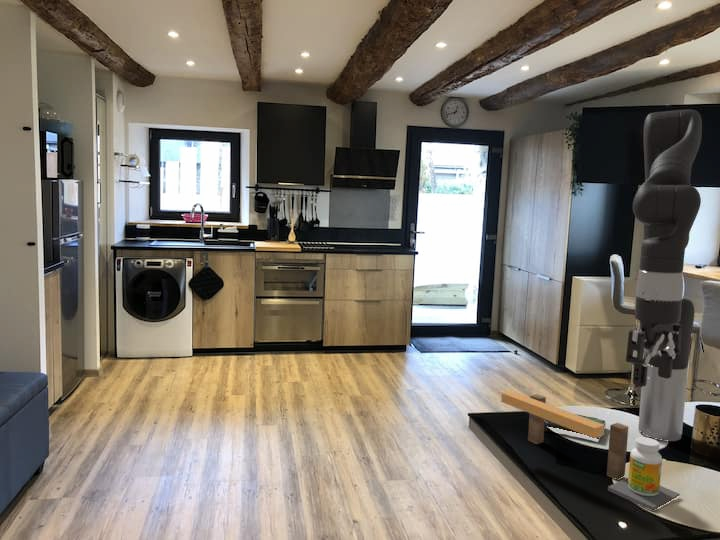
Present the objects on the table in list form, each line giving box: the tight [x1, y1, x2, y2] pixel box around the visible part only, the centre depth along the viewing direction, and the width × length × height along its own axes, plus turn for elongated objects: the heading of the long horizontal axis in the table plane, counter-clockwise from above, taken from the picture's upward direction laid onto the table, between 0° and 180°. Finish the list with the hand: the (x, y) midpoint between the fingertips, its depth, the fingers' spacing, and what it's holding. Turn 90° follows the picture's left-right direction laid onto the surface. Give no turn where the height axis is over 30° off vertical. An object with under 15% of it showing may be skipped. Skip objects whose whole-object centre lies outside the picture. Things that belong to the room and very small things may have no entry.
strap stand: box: [527, 393, 629, 479], centre depth 125 cm, size 2×22×11 cm, turn 34°
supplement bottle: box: [627, 436, 663, 496], centre depth 110 cm, size 5×5×10 cm
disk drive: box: [544, 413, 606, 439], centre depth 141 cm, size 10×3×15 cm
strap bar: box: [500, 390, 606, 438], centre depth 119 cm, size 3×23×2 cm, turn 34°
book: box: [607, 477, 681, 512], centre depth 110 cm, size 9×9×1 cm
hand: (652, 381), depth 108 cm, fingers open, 8 cm apart
